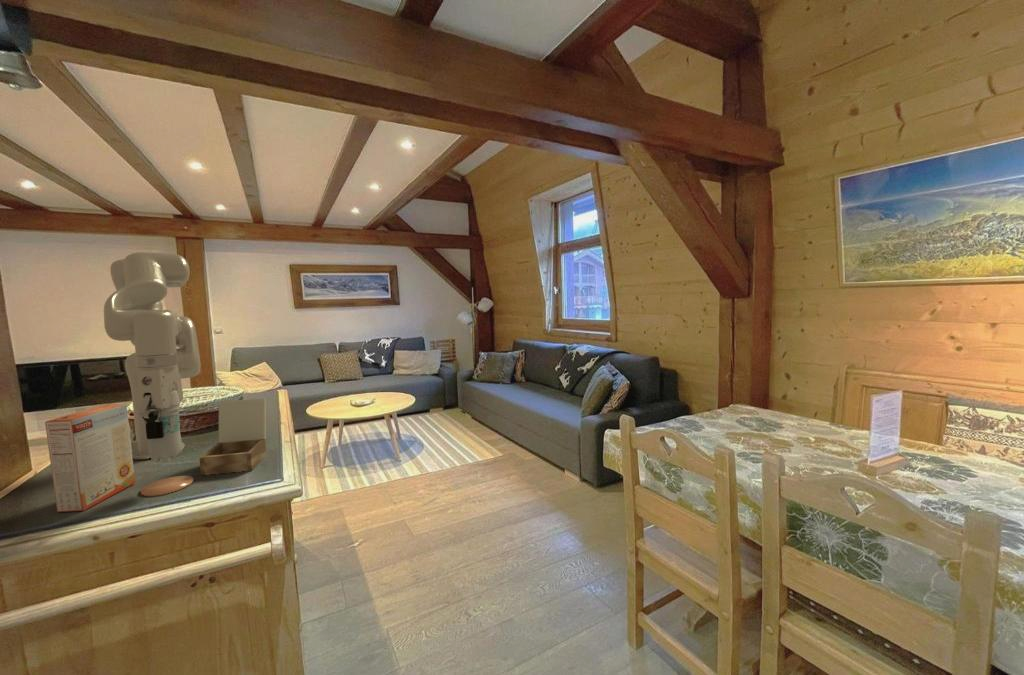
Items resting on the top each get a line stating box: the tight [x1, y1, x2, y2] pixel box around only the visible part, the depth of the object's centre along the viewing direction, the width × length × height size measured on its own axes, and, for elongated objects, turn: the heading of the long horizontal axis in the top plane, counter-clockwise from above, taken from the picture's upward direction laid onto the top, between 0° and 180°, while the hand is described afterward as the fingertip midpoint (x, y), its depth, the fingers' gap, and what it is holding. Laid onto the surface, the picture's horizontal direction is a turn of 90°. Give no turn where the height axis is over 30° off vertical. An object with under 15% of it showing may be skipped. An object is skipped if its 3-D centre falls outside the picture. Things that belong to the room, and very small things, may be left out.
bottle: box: [149, 391, 183, 463], centre depth 99 cm, size 7×7×20 cm
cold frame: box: [199, 439, 267, 476], centre depth 114 cm, size 12×12×5 cm
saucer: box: [140, 475, 194, 497], centre depth 101 cm, size 10×10×1 cm
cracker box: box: [44, 403, 136, 513], centre depth 95 cm, size 14×6×21 cm, turn 5°
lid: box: [218, 398, 267, 443], centre depth 121 cm, size 12×4×17 cm, turn 105°
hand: (163, 433), depth 100 cm, fingers closed on bottle, 6 cm apart
